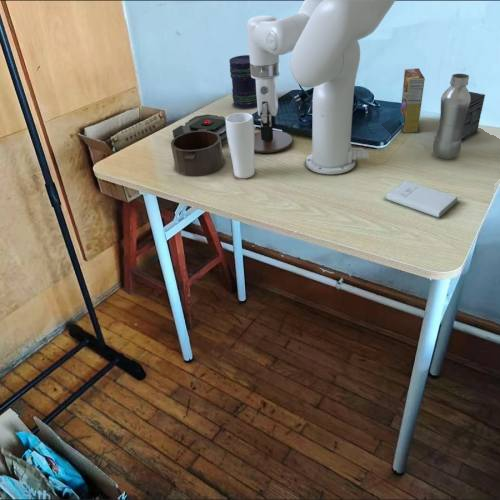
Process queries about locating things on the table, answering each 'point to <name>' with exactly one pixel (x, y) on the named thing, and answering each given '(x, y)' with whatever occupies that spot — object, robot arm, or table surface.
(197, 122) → the four-lobed dark green device
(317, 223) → the table surface
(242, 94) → the storage jar
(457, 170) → the table surface
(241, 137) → the drinking glass
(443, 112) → the plastic bottle
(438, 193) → the hard drive
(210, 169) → the two-handled cooking pot
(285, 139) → the lid
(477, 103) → the small box
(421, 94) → the candy box
